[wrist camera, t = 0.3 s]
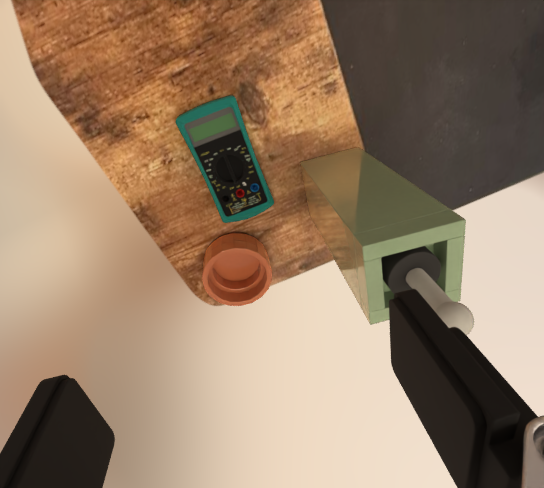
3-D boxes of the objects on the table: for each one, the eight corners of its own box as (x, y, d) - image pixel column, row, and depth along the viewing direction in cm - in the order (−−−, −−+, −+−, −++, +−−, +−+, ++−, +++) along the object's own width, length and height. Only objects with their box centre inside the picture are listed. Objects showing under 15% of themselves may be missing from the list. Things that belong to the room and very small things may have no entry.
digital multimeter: (224, 220, 48) (225, 229, 46) (175, 114, 41) (172, 118, 38) (274, 201, 48) (277, 209, 45) (233, 91, 40) (234, 94, 38)
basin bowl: (194, 240, 49) (192, 259, 45) (259, 223, 49) (263, 240, 45) (214, 292, 54) (214, 313, 49) (273, 276, 54) (278, 295, 49)
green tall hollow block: (299, 161, 46) (362, 246, 26) (358, 146, 46) (466, 219, 26) (309, 215, 50) (370, 325, 30) (363, 201, 50) (460, 301, 30)
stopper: (376, 247, 28) (431, 315, 21) (428, 234, 28) (501, 297, 21) (380, 289, 30) (430, 364, 23) (428, 276, 30) (493, 347, 23)
